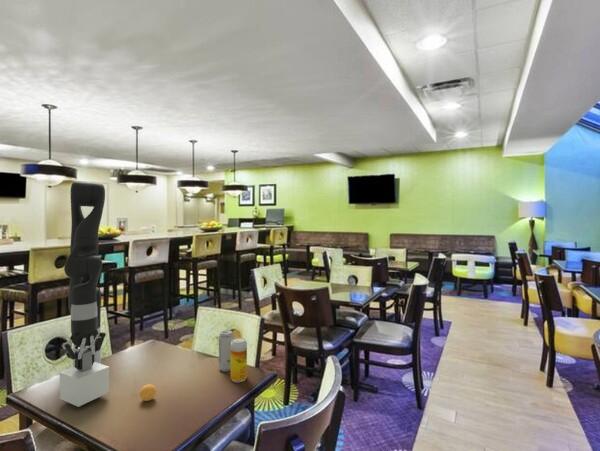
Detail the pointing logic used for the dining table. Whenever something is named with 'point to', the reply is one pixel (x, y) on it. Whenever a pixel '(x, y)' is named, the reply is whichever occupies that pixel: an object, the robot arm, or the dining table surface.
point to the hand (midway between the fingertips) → (84, 367)
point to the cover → (84, 381)
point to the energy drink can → (225, 350)
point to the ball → (147, 392)
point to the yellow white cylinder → (238, 359)
